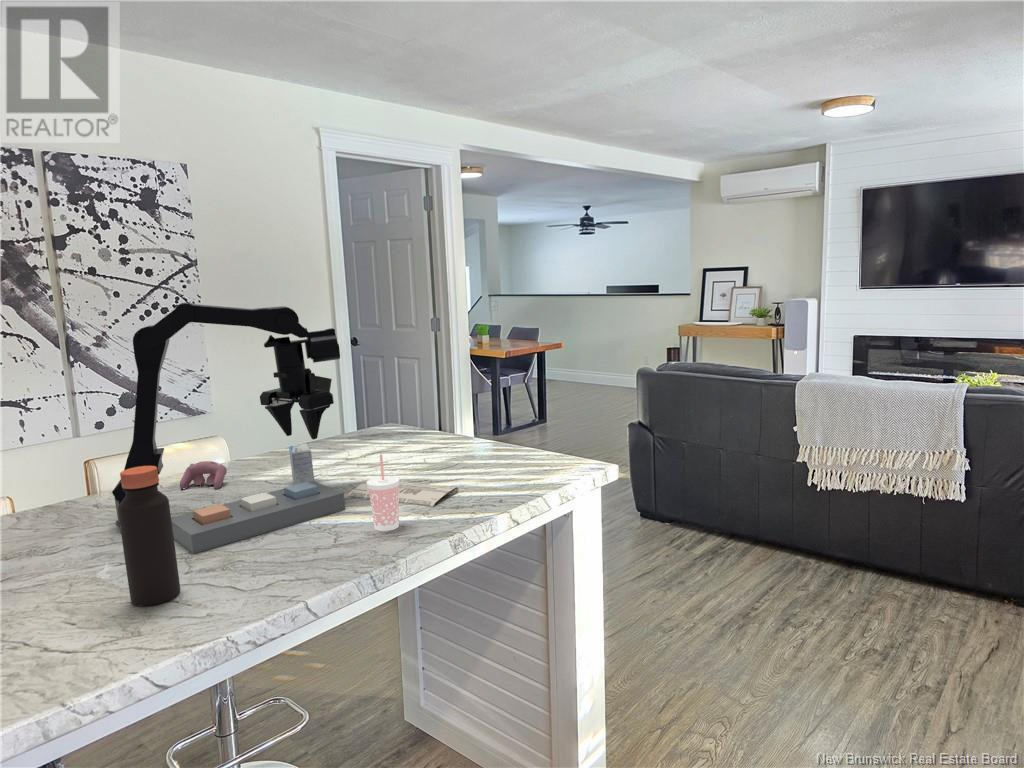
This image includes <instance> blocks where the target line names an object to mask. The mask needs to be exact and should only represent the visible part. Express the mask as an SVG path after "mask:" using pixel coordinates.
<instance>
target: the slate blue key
mask: <svg viewBox="0 0 1024 768" xmlns="http://www.w3.org/2000/svg"><path fill="white" fill-rule="evenodd" d="M283 489H284V492H285V496H286V497H289V498H291V499H293V500H298V499H301V498H305V497H309V496H313V495H316V494H319V492H318V486H316V485H314V484H311V483H309V482H303V483H300V484H296V485H294V484H293V485H287V486H285V487H283Z"/></svg>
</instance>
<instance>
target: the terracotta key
mask: <svg viewBox="0 0 1024 768" xmlns="http://www.w3.org/2000/svg"><path fill="white" fill-rule="evenodd" d="M192 512H193V515H194V521H196V522H197V523H199V524H201V525H205V524H209V523H213V522H216V521H220V520H224V519H227V518H231V514H230V509H229V508H227V507H225V506H223V504H221V503H218V504H214V505H210V506H206V507H201V508H198V509H195V510H192Z"/></svg>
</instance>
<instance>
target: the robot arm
mask: <svg viewBox="0 0 1024 768" xmlns="http://www.w3.org/2000/svg"><path fill="white" fill-rule="evenodd" d="M190 323H194V324H195V323H198V324H211V325H223V326H224V325H226V326H235V327H236V326H237V327H249V328H255V329H258V330H262V331H265V332H270V333H274V334H277V335H282V336H283V337H281V336H280V337H274V336H273V335H272V334H270V335H268V338H267V340H266V341H265V342H264V343H263V347H264V348H273V353H274V359H275V366H276V371H275V372H273V378H276V379H277V378H278V384H279V387H278V388H275V389H274V388H273V389H269V390H266V391H262V392H261V394H260V395H259V402H260V405H261V406H264V408H265V410H266V411H268V413H269V414H270V415H271V416H272V417H273V419H274V420H275V422H276V423H277V424H278V425H279V427H280V428H281V430H282V431H283V433H284V434H285V435H286V437H290V436H292V435H293V434H292V433H293V428H292V427H293V426H292V425H293V424H292V413H291V411H292V409H293V406H294V404H295V403H298V405H299V407H300V410H299V413H300V416H301V418H302V420H303V422H304V425H305V427H306V430H307V433H308V435H309V436H310V438H311V439H312V440H316V439H318V435H319V431H320V425H321V420H322V417H323V414H324V412H325V411H326V410H327V409H329V408H330V407H331V405H333V404H335V399H334V395H333V393H332V392H331V385H332V378H330V377H329V378H328V377H324V376H320V375H316V374H315V373H314V372H312V370H311V369H310V367H309V368H308V367H307V368H306V363H305V358H304V351H303V344H304V349H305V354H306V359H307V360H308V359H310V360H312V363H313V364H315V363H321V362H322V363H323V362H330V361H336V360H340V358H341V352H340V351H341V350H340V344H339V342H338V338H337V335H336V329H335V328H333V327H331V328H325V329H322V330H314V331H308V328H306V327H304V326H303V325H301V323H300V318H299V316H298V313H296V312H295V310H294V309H292V308H291V307H288V306H283V305H281V306H270V307H260V308H259V307H257V308H245V307H243V308H242V307H231V306H221V305H220V306H219V305H208V304H198V303H197V304H196V303H192V302H182V303H179V304H178V305H177V306H176V307H175V308H174V309H173V310H172V311H171V312H169V313H168V314H167V315H166V316H164V317H163V318H161V319H160V320H158V321H157V322H156V323H155V324H152V325H150V324H149V325H147V326H144V327H142V328H140V329H137V331H136V332H135V333H134V335H133V337H132V346H133V355H134V356H133V357H134V360H135V365H136V371H137V382H136V394H135V395H136V396H135V411H134V422H133V435H132V436H133V437H132V444H131V445H130V450H129V452H128V455H127V459H126V462H125V465H124V468H123V469H124V470H126V469H130V468H134V467H139V466H156V467H157V469H158V476H159V475H160V474H161V472H162V469H163V468H164V464H163V460H162V459H163V455H164V451H165V448H164V447H160V448H159V447H157V446H158V445H157V442H156V432H157V418H158V417H157V416H158V404H159V391H160V377H161V371H162V368H163V365H164V361H165V358H166V355H167V351H168V348H169V344H170V338H173V337H174V336H175V335H176V334H177V333H178V332H180V331H181V330H182V329H183V328H184V327H186V326H187V325H188V324H190ZM290 334H291V335H293V336H295V337H297V338H299V339H296V340H291V338H290V336H288V335H290ZM124 470H123V471H124ZM111 494H112V495H113V497H114V501H115V502H114V503H115V509H116V517H117V520H116V521H115V524H116V525H117V526H119V527H120V522H119V515H118V505H119V504H120V503H121V502H122V500H123V499H124V498H125V496H126V494H125V491H123V488H122V484H121V479H119V481H118V482H117V484H116V485H115V487H114V488H113V490H112V492H111Z"/></svg>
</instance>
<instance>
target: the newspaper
mask: <svg viewBox="0 0 1024 768" xmlns="http://www.w3.org/2000/svg"><path fill="white" fill-rule="evenodd" d="M399 483H400V484H399V485H398V501H399V504H402V505H403V504H404V505H413V506H422V507H430V508H434V506H435V504H436V503H437V502H438V501H439V500H441V498H443V497H444V496H445V495H446V496H451V495H454V494H457V492H458V491H459V486H449V485H439V484H438V485H435V484H427V483H426V484H425V483H417V482H405V481H399ZM346 498H348V499H349V498H350V499H358V500H359V499H360V500H366V501H367V500H368V501H370V494H369V488H367V481H365V482H362V483H361V484H360V485H358V486H357V487H355V488H354V489H352V490H351V491H350V492H348V493H347V494H346Z"/></svg>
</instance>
